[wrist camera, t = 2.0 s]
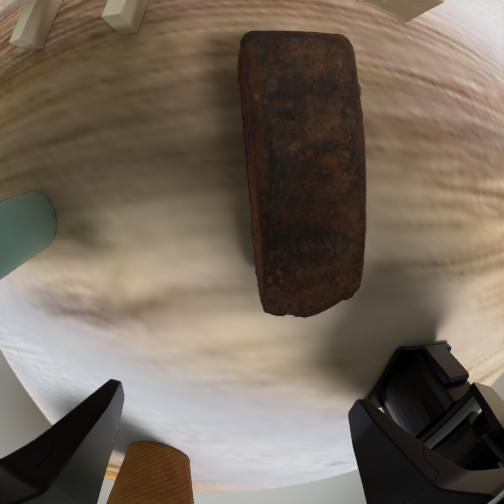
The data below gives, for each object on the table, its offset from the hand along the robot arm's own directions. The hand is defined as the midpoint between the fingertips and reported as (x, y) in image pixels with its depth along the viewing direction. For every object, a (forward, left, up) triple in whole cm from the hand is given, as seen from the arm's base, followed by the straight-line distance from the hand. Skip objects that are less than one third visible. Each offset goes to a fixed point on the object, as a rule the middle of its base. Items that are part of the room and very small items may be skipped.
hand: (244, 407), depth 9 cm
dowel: (+4, +13, -6) cm, 15 cm away
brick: (+8, -1, -7) cm, 10 cm away
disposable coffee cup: (-19, +5, -7) cm, 21 cm away
